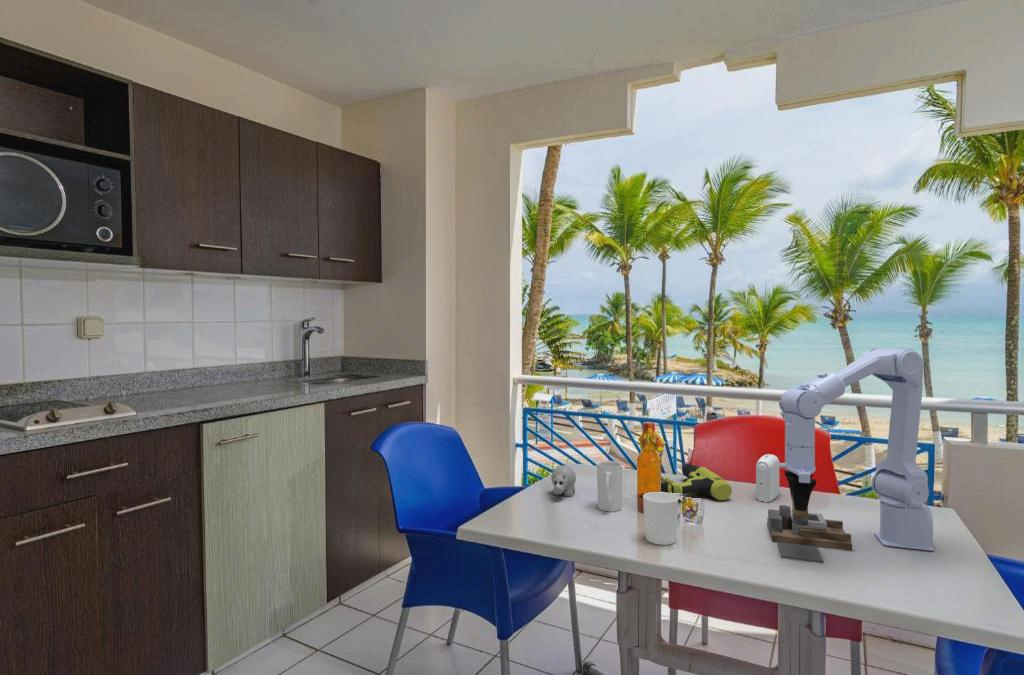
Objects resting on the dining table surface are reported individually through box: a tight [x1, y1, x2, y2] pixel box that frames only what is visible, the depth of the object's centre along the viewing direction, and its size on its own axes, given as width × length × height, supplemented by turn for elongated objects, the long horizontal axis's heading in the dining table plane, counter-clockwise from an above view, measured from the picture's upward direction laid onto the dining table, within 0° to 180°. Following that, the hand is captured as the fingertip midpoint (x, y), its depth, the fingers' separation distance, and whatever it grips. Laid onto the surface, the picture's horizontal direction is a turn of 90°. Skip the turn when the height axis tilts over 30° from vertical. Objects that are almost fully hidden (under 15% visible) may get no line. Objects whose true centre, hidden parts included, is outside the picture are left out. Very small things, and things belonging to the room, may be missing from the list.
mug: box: [596, 460, 623, 512], centre depth 150 cm, size 10×7×12 cm, turn 164°
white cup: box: [642, 492, 679, 546], centre depth 128 cm, size 8×8×10 cm
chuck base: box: [766, 504, 853, 552], centre depth 130 cm, size 16×12×6 cm
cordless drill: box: [660, 463, 733, 502], centre depth 166 cm, size 7×25×25 cm
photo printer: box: [755, 453, 780, 503], centre depth 159 cm, size 10×4×12 cm, turn 138°
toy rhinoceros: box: [550, 465, 577, 498], centre depth 161 cm, size 7×12×8 cm, turn 161°
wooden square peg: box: [791, 495, 809, 526], centre depth 120 cm, size 3×3×9 cm
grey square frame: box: [790, 510, 827, 534], centre depth 130 cm, size 7×7×3 cm
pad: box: [776, 542, 824, 564], centre depth 120 cm, size 8×8×1 cm
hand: (799, 507), depth 120 cm, fingers closed on wooden square peg, 3 cm apart
